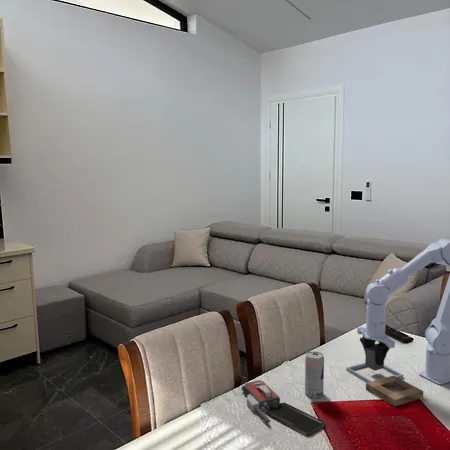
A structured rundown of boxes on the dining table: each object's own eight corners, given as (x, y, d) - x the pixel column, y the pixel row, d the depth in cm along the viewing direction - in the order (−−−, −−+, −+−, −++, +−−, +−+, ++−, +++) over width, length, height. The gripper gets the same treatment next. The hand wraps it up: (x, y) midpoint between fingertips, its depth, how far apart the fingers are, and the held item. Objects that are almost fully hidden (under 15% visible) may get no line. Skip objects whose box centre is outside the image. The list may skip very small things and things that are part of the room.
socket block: (393, 381, 140) (393, 375, 140) (423, 397, 130) (423, 391, 130) (365, 389, 136) (365, 383, 135) (394, 406, 126) (394, 399, 125)
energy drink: (325, 391, 135) (325, 352, 133) (321, 399, 130) (321, 359, 128) (307, 388, 137) (307, 350, 136) (302, 396, 132) (303, 356, 131)
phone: (283, 401, 128) (327, 423, 117) (283, 405, 128) (327, 427, 117) (263, 411, 123) (307, 435, 112) (263, 415, 123) (307, 439, 112)
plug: (374, 363, 148) (375, 345, 147) (383, 368, 144) (384, 350, 144) (365, 365, 146) (365, 348, 146) (374, 370, 143) (374, 352, 142)
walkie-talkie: (235, 393, 135) (265, 427, 117) (234, 379, 135) (265, 411, 116) (261, 387, 138) (295, 420, 120) (261, 373, 138) (295, 404, 119)
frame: (374, 363, 154) (374, 360, 154) (403, 377, 143) (403, 374, 143) (346, 370, 149) (346, 367, 149) (373, 386, 138) (373, 383, 137)
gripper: (350, 316, 148) (349, 356, 150) (383, 330, 135) (382, 373, 137) (366, 313, 151) (366, 352, 153) (400, 326, 138) (399, 368, 140)
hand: (374, 361), depth 145 cm, fingers closed on plug, 4 cm apart
